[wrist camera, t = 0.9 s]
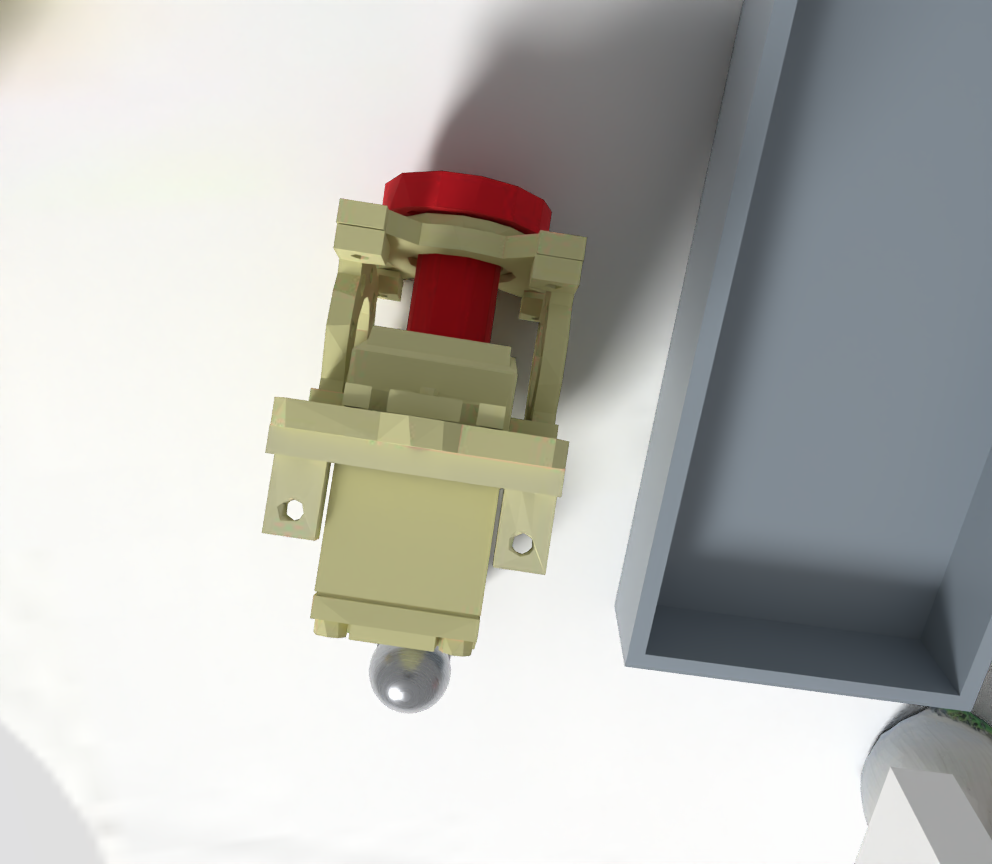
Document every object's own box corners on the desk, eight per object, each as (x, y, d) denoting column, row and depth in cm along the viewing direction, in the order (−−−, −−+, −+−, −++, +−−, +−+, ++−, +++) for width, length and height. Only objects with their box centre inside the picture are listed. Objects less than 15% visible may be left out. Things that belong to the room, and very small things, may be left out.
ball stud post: (393, 557, 40) (366, 656, 33) (464, 566, 40) (451, 667, 33) (387, 617, 41) (359, 725, 34) (456, 626, 41) (442, 735, 34)
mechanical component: (564, 208, 40) (657, -43, 20) (508, 588, 40) (546, 712, 20) (396, 181, 40) (323, -98, 20) (336, 562, 40) (199, 661, 20)
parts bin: (769, -122, 30) (809, -156, 26) (1187, -60, 30) (1294, -83, 26) (614, 606, 40) (624, 666, 36) (925, 647, 41) (971, 711, 36)
